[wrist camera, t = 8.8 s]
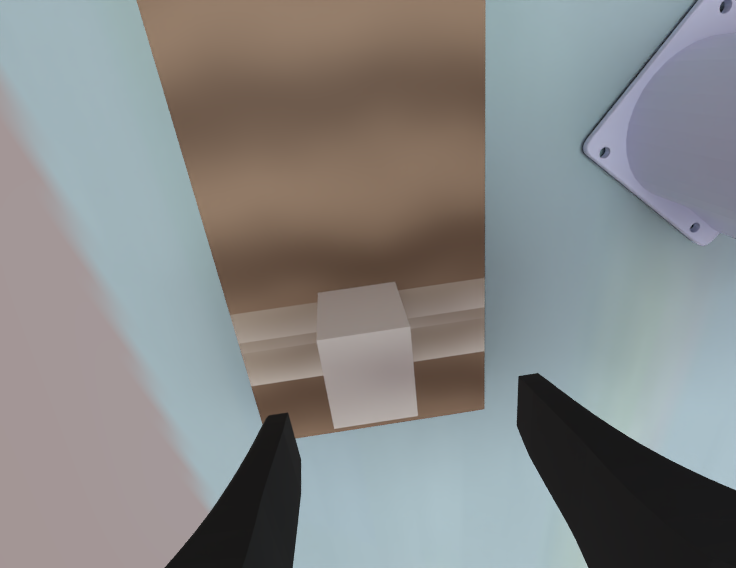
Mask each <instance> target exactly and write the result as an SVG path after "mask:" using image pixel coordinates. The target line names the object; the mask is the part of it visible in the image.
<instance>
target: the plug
mask: <svg viewBox="0 0 736 568" xmlns="http://www.w3.org/2000/svg"><path fill="white" fill-rule="evenodd" d="M316 341H317V346H318V351H319V356H320V361H321V366H322V371H323V376H324V381H325V386H326V390H327V395H328V400H329V405H330V410H331V415H332V420H333V425H334V429H337V428H344V427H350V426H357V425H363V424H370V423H376V422H382V421H389V420H395V419H402V418H408V417H415V416H418V411H417V399H416V387H415V376H414V364H413V352H412V341H411V329H410V324H409V321H408V318H407V316H406V313H405V310H404V307H403V304H402V301H401V298H400V295H399V292H398V289H397V286H396V283H395V282H389V283H382V284H376V285H369V286H362V287H355V288H348V289H341V290H334V291H327V292H320V293H318V304H317V338H316Z"/></svg>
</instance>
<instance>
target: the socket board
mask: <svg viewBox="0 0 736 568" xmlns="http://www.w3.org/2000/svg"><path fill="white" fill-rule="evenodd" d="M137 3H138V7H139V10H140V13H141V17H142V20H143V24H144V27H145V30H146V34H147V37H148V40H149V44H150V47H151V50H152V54H153V57H154V61H155V64H156V67H157V71H158V74H159V77H160V81H161V84H162V87H163V91H164V94H165V98H166V101H167V104H168V108H169V111H170V114H171V118H172V121H173V124H174V128H175V131H176V135H177V138H178V141H179V145H180V148H181V151H182V155H183V158H184V161H185V165H186V168H187V172H188V175H189V178H190V182H191V185H192V188H193V192H194V195H195V198H196V202H197V205H198V209H199V212H200V215H201V219H202V222H203V225H204V229H205V232H206V235H207V239H208V242H209V246H210V249H211V252H212V256H213V259H214V262H215V266H216V269H217V272H218V276H219V279H220V283H221V286H222V289H223V293H224V296H225V299H226V303H227V306H228V309H229V313H230V316H231V320H232V323H233V326H234V330H235V333H236V336H237V340H238V343H239V346H240V350H241V353H242V356H243V360H244V363H245V367H246V370H247V373H248V377H249V380H250V383H251V387H252V390H253V393H254V397H255V400H256V404H257V407H258V410H259V414H260V417H261V420H262V424H263V423H264V421H265V419H266V418H267V417H268V415H274V414H281V413H287V412H288V414H289V417H290V421H291V425H292V428H293V432H294V436H295V438H301V437H308V436H314V435H321V434H327V433H334V432H340V431H347V430H353V429H359V428H366V427H372V426H379V425H385V424H392V423H398V422H405V421H411V420H417V419H424V418H430V417H437V416H443V415H450V414H456V413H463V412H469V411H475V410H482V409H484V330H485V0H137ZM389 282H395V283H396V286H397V289H398V292H399V295H400V298H401V301H402V304H403V307H404V310H405V313H406V316H407V318H408V321H409V324H410V329H411V341H412V352H413V364H414V376H415V387H416V399H417V411H418V416H415V417H408V418H402V419H395V420H389V421H382V422H376V423H370V424H363V425H357V426H350V427H344V428H337V429H334V425H333V420H332V415H331V410H330V405H329V400H328V395H327V390H326V386H325V381H324V376H323V371H322V366H321V361H320V356H319V351H318V346H317V341H316V338H317V304H318V293H320V292H327V291H334V290H341V289H348V288H355V287H362V286H369V285H376V284H382V283H389Z"/></svg>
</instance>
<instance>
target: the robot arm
mask: <svg viewBox="0 0 736 568" xmlns="http://www.w3.org/2000/svg"><path fill="white" fill-rule="evenodd" d="M722 2H724V9H723V11H722V12H720V5H721V3H722ZM603 147H605V153H604V155H602V156H601V157H600V156H599V152H600V150H601V149H602V148H603ZM583 150H584V153H585V154H586V155H587V156H588V157H589V158H591V159H592V160H593V161H594V162H596V163H597V164H598V165H599V166H600V167H602V168H603V169H604V170H605V171H607V172H608V173H609V174H610V175H611V176H613V177H614V178H615V179H616V180H618V181H619V182H620V183H621V184H623V185H624V186H625V187H626V188H627V189H629V190H630V191H631V192H632V193H634V194H635V195H636V196H637V197H638V198H640V199H641V200H642V201H643V202H645V203H646V204H647V205H648V206H650V207H651V208H652V209H653V210H654V211H656V212H657V213H658V214H659V215H661V216H662V217H663V218H664V219H665V220H667V221H668V222H669V223H670V224H672V225H673V226H674V227H675V228H677V229H678V230H679V231H680V232H681V233H683V234H684V235H685V236H686V237H688V238H689V239H690V240H691V241H693V242H694V243H696V244H698V245H700V246H705V245H707V244H709V243H710V242H712V241H713V240H714V239H715V238H716V237H717V236H718V235H719V234H720V233H722V234H725V235H727V236H730V237H732V238H735V239H736V0H698V1H697V2H696V4H695V5H694V6H693V7H692V9H691V10H690V11H689V12H688V14H687V15H686V16H685V17H684V19H683V20H682V21H681V22H680V24H679V25H678V26H677V27H676V29H675V30H674V31H673V32H672V34H671V35H670V36H669V37H668V38H667V40H666V41H665V42H664V43H663V45H662V46H661V47H660V48H659V50H658V51H657V52H656V53H655V55H654V56H653V57H652V58H651V60H650V61H649V62H648V63H647V65H646V66H645V67H644V68H643V70H642V71H641V72H640V73H639V75H638V76H637V77H636V78H635V80H634V81H633V82H632V83H631V85H630V86H629V87H628V88H627V90H626V91H625V92H624V93H623V95H622V96H621V97H620V98H619V99H618V101H617V102H616V103H615V104H614V106H613V107H612V108H611V109H610V111H609V112H608V113H607V114H606V116H605V117H604V118H603V119H602V121H601V122H600V123H599V124H598V126H597V127H596V128H595V129H594V131H593V132H592V133H591V134H590V136H589V137H588V138H587V139H586V141H585V143H584V146H583ZM693 224H694V226H693V228H691V229H690V227H691V226H692V225H693ZM517 427H518V430H519V432H520V435H521V437H522V440H523V442H524V445H525V447H526V449H527V452H528V454H529V456H530V458H531V460H532V462H533V464H534V465H535V467H536V469H537V471H538V473H539V474H540V476H541V478H542V480H543V481H544V483H545V485H546V487H547V488H548V490H549V492H550V494H551V495H552V497H553V499H554V501H555V503H556V504H557V506H558V508H559V510H560V511H561V513H562V515H563V517H564V518H565V520H566V522H567V524H568V526H569V527H570V529H571V531H572V533H573V535H574V537H575V539H576V541H577V543H578V546H579V548H580V550H581V552H582V554H583V557H584V559H585V561H586V563H587V565H588V568H736V490H734V489H731V488H729V487H727V486H724V485H722V484H720V483H717V482H715V481H713V480H710V479H708V478H706V477H704V476H702V475H700V474H698V473H695V472H693V471H691V470H689V469H687V468H685V467H683V466H681V465H679V464H677V463H675V462H673V461H671V460H669V459H667V458H665V457H663V456H661V455H660V454H658V453H656V452H654V451H652V450H650V449H649V448H647V447H645V446H643V445H641V444H640V443H638V442H636V441H635V440H633V439H631V438H630V437H628V436H626V435H625V434H623V433H622V432H620V431H618V430H617V429H615V428H614V427H612V426H611V425H609V424H607V423H606V422H604V421H603V420H601V419H600V418H598V417H597V416H596V415H594V414H593V413H591V412H590V411H588V410H587V409H586V408H584V407H583V406H581V405H580V404H579V403H577V402H576V401H574V400H573V399H572V398H570V397H569V396H568V395H566V394H565V393H564V392H562V391H561V390H560V389H558V388H557V387H556V386H554V385H553V384H552V383H550V382H549V381H548V380H546V379H545V378H544V377H542V376H541V375H540V374H538V373H536V374H530V375H523V376H519V379H518V406H517ZM300 498H301V458H300V454H299V451H298V447H297V443H296V440H295V436H294V432H293V428H292V425H291V421H290V417H289V414H288V412H287V413H281V414H274V415H268V417H267V418H266V419H265V421H264V423H263V425H262V427H261V429H260V431H259V433H258V435H257V437H256V439H255V441H254V442H253V444H252V446H251V448H250V450H249V452H248V453H247V455H246V457H245V459H244V460H243V462H242V464H241V465H240V467H239V469H238V471H237V472H236V474H235V475H234V477H233V479H232V480H231V482H230V483H229V485H228V486H227V488H226V489H225V491H224V492H223V494H222V496H221V497H220V499H219V500H218V502H217V503H216V504H215V506H214V507H213V509H212V510H211V511H210V513H209V514H208V516H207V517H206V518H205V520H204V521H203V522H202V523H201V525H200V526H199V527H198V529H197V530H196V531H195V533H194V534H193V535H192V536H191V537H190V539H189V540H188V541H187V542H186V543H185V545H184V546H183V547H182V548H181V549H180V551H179V552H178V553H177V554H176V555H175V556H174V558H173V559H172V560H171V561H170V562H169V563H168V564H167V566H166V567H165V568H293V560H294V551H295V542H296V534H297V525H298V516H299V507H300Z"/></svg>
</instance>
